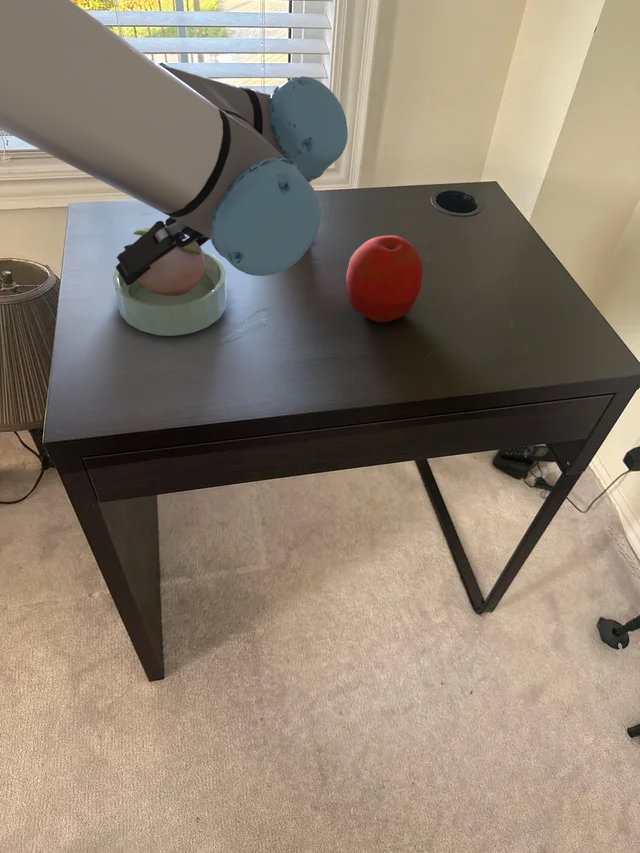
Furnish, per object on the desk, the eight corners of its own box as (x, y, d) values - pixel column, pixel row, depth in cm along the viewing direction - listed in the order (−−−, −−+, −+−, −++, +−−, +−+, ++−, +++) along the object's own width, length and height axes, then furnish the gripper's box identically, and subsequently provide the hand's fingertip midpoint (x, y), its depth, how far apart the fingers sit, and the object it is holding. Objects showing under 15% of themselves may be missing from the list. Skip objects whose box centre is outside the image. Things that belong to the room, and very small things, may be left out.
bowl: (127, 347, 81) (121, 315, 77) (113, 282, 90) (107, 251, 86) (237, 329, 84) (236, 298, 81) (214, 269, 93) (212, 239, 90)
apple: (377, 281, 94) (388, 208, 86) (430, 314, 89) (447, 241, 81) (328, 308, 89) (335, 233, 80) (381, 344, 84) (395, 269, 76)
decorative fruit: (125, 308, 83) (111, 239, 76) (150, 273, 89) (139, 206, 82) (194, 320, 82) (187, 252, 75) (215, 285, 88) (210, 218, 81)
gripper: (172, 263, 61) (100, 321, 79) (320, 190, 73) (228, 255, 91) (128, 190, 59) (65, 267, 78) (287, 127, 71) (200, 206, 89)
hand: (153, 260), depth 84 cm, fingers closed on decorative fruit, 9 cm apart
